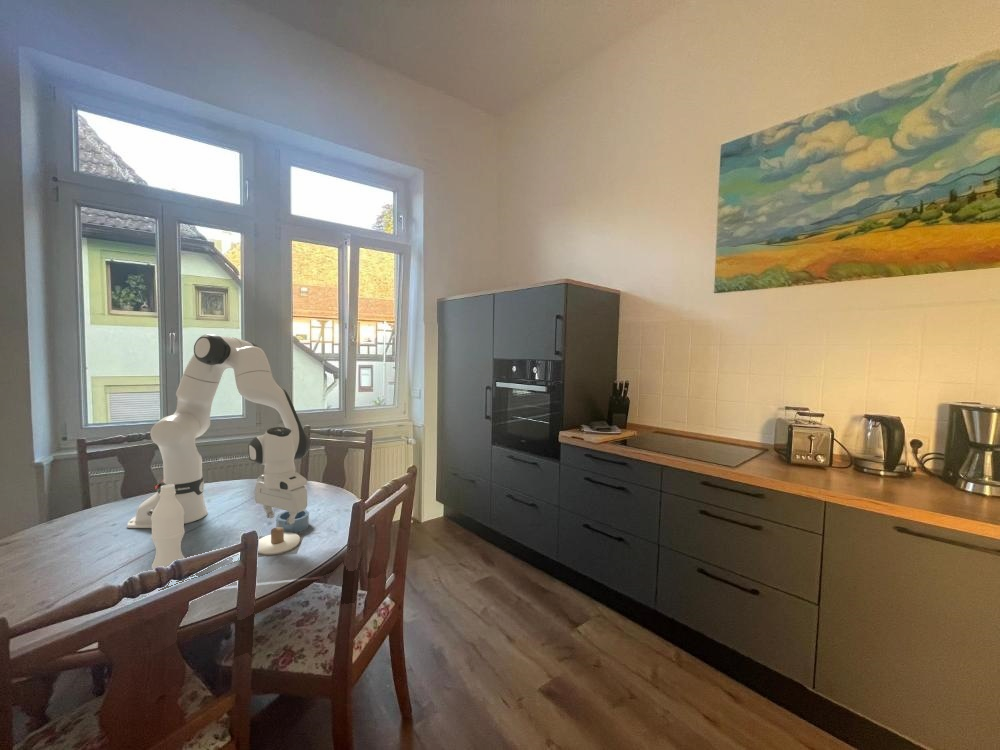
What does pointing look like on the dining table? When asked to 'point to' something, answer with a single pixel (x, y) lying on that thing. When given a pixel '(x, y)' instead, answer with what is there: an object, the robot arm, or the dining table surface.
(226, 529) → the dining table surface
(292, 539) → the lid
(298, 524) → the bowl
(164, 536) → the water bottle
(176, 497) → the robot arm
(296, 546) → the mat
